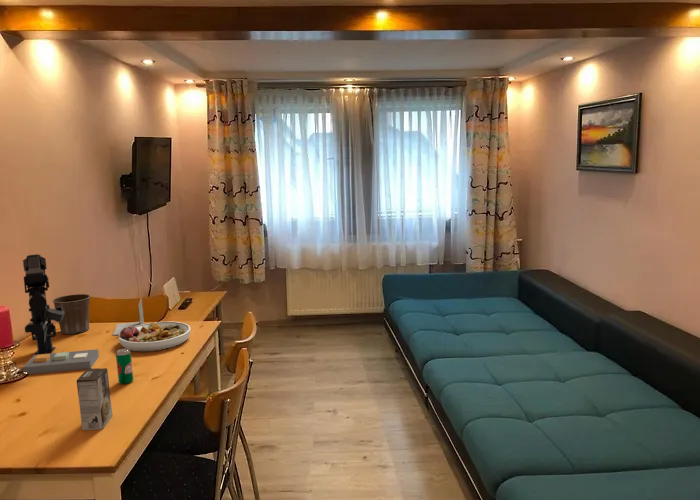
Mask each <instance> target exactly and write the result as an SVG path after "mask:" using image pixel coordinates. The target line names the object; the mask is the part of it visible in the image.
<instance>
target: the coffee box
mask: <svg viewBox="0 0 700 500" xmlns="http://www.w3.org/2000/svg"><path fill="white" fill-rule="evenodd" d="M76 388H77V389H76V390H77V395H78V396H77V397H78V405H79V413H80V414H79V415H80V422H81V423H80V424H81V429H82V430H81V431H93V430H94V431H96V430H104V428H106V425H108V424H107V423H109V421H110V419H112V417H113V408H112V399H111V389H110V382H109V373H108V368H107V367H106V368H104V367H103V368H100V367H99V368H97V367H96V368H95V367H94V368H91V369H85V371H84V372H83V373H82V374H81V375H80V376H79V377H78V378H77V379H76Z"/></svg>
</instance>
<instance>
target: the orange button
mask: <svg viewBox="0 0 700 500" xmlns="http://www.w3.org/2000/svg"><path fill="white" fill-rule="evenodd" d="M50 354H51V353H42V354H41V355H40V354H36V355H37V356H36V357H35V358H34V362H46V361H48V360H49V359H50Z"/></svg>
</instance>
